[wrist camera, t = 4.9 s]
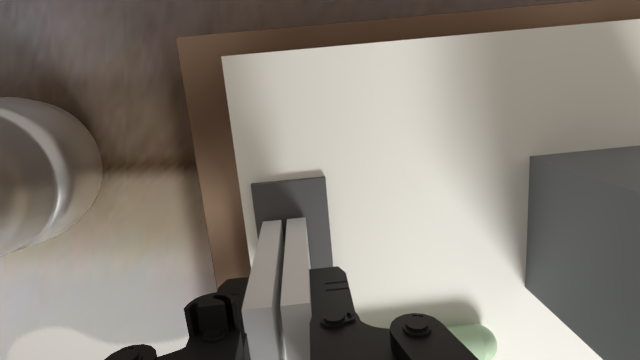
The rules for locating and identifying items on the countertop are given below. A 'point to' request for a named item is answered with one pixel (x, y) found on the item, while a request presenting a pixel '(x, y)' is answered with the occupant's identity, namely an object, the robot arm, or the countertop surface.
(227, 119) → the walnut base
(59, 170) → the plastic bottle
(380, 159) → the plate
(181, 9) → the countertop surface
